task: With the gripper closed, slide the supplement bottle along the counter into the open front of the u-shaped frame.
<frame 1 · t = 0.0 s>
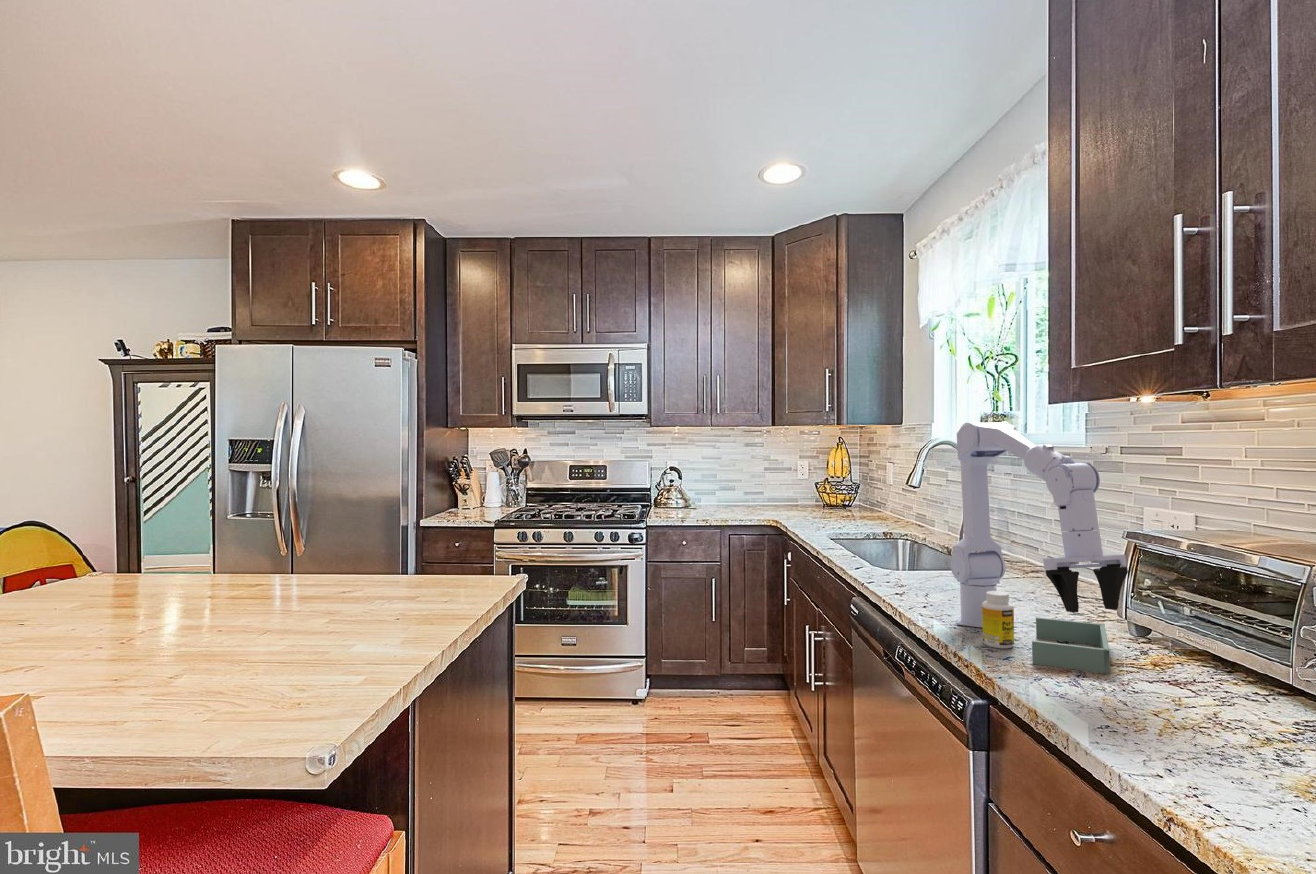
hand: (1092, 610, 117), 11 cm above the countertop, tool pointing down, fingers open, 7 cm apart
u-shaped frame: (1070, 654, 127), on the countertop
supplement bottle: (998, 646, 133), on the countertop
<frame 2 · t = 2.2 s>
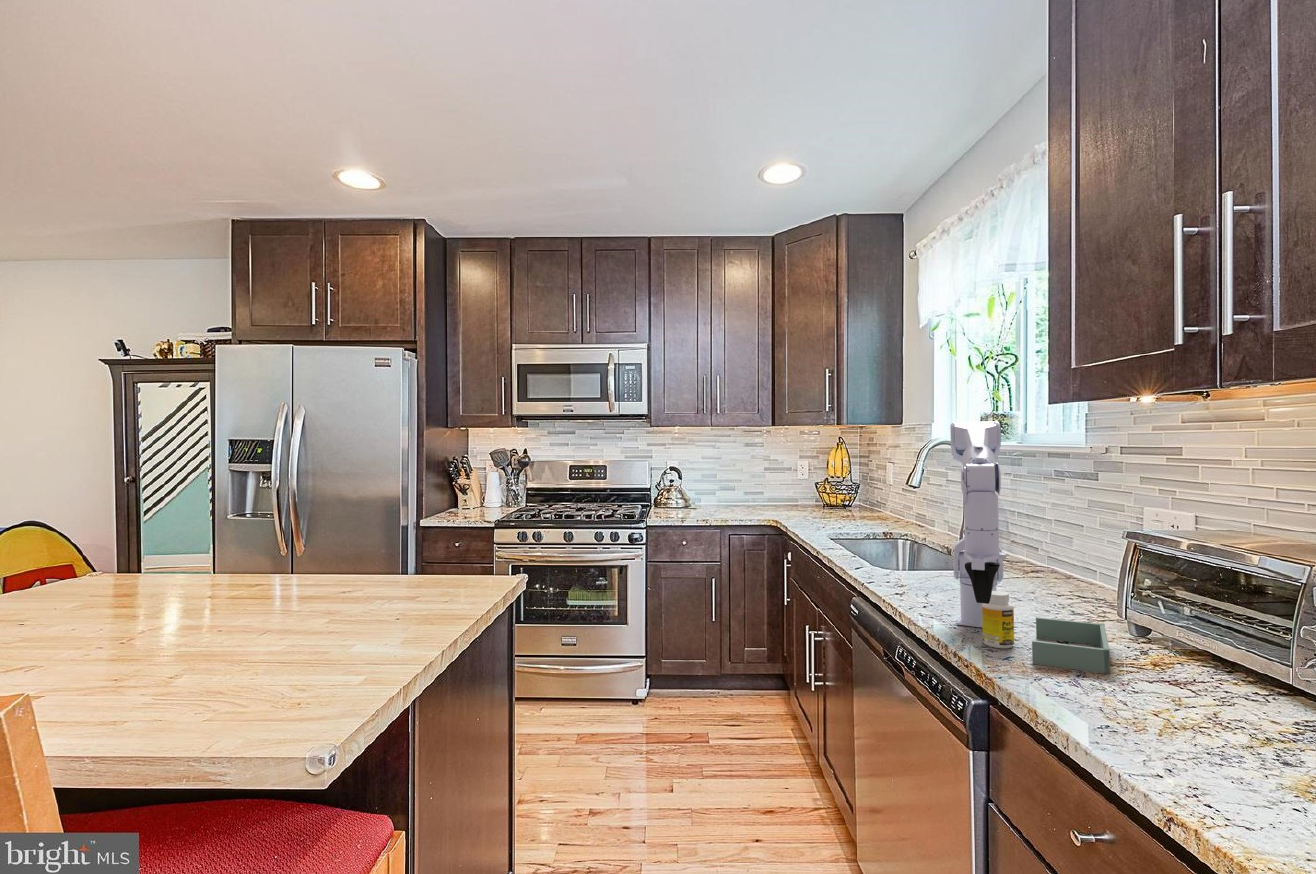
hand: (983, 602, 125), 10 cm above the countertop, tool pointing down, fingers closed
nothing on the countertop moved.
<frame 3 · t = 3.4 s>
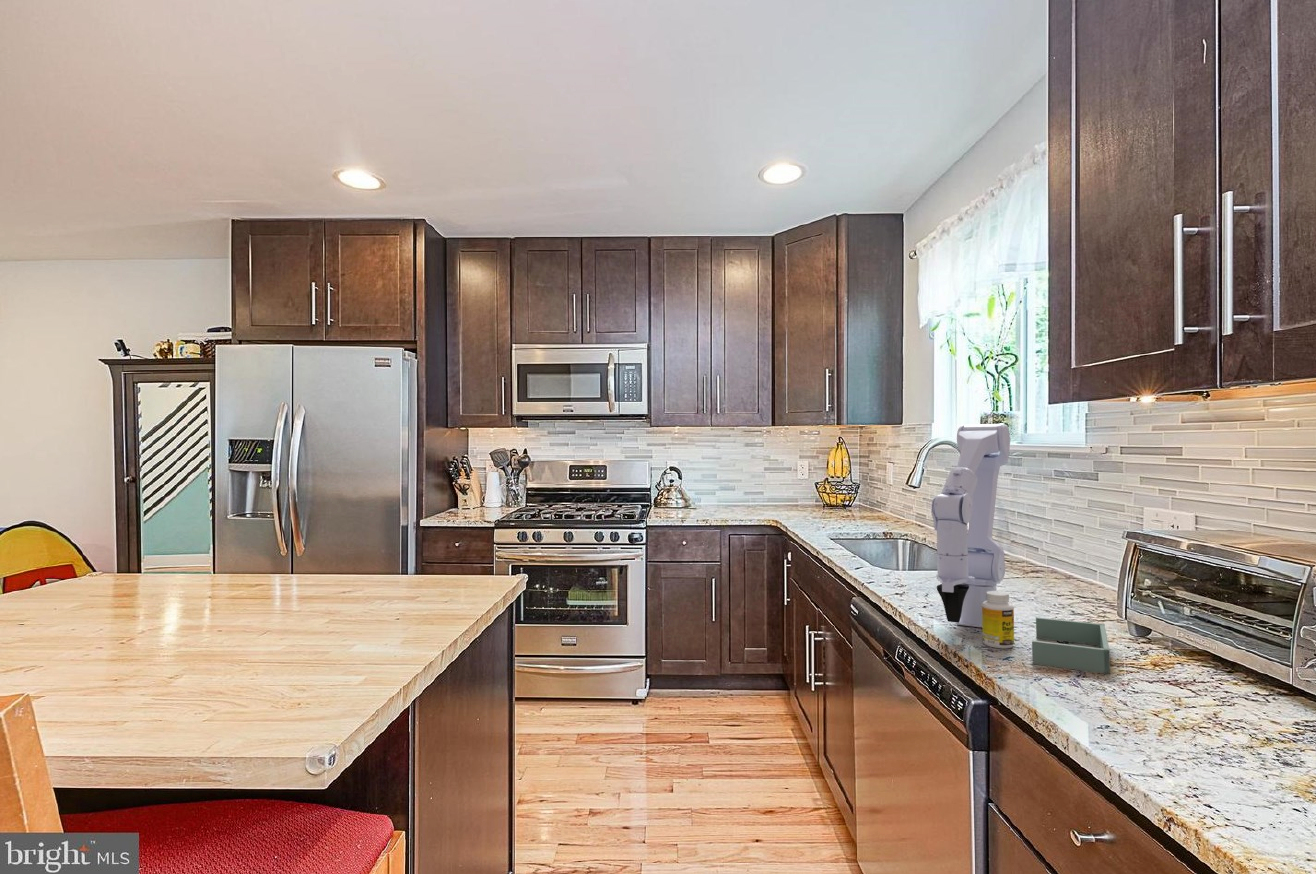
hand: (953, 621, 137), 4 cm above the countertop, tool pointing down, fingers closed
nothing on the countertop moved.
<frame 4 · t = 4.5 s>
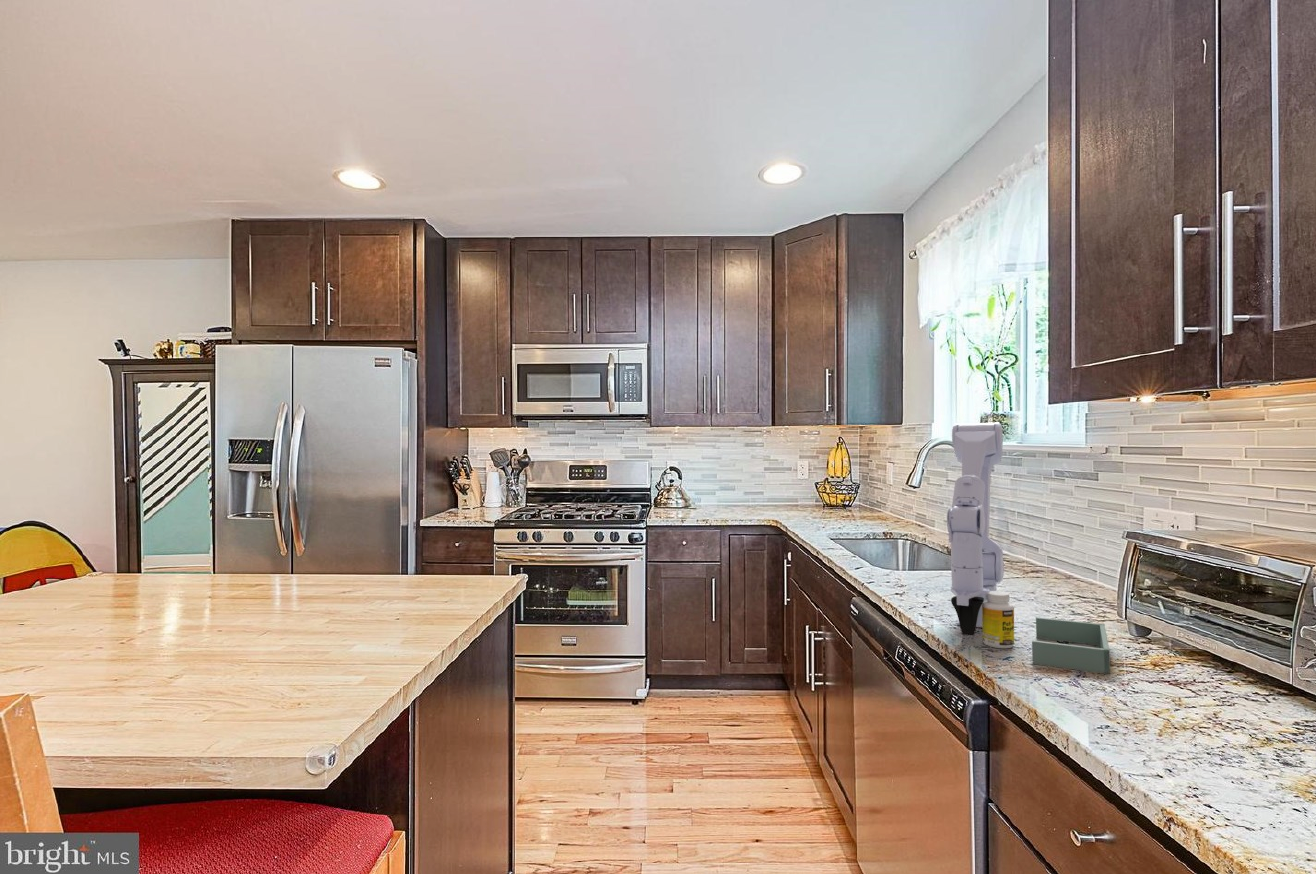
hand: (968, 634, 136), 1 cm above the countertop, tool pointing down, fingers closed, pressing on supplement bottle
supplement bottle: (998, 646, 133), on the countertop, touching gripper
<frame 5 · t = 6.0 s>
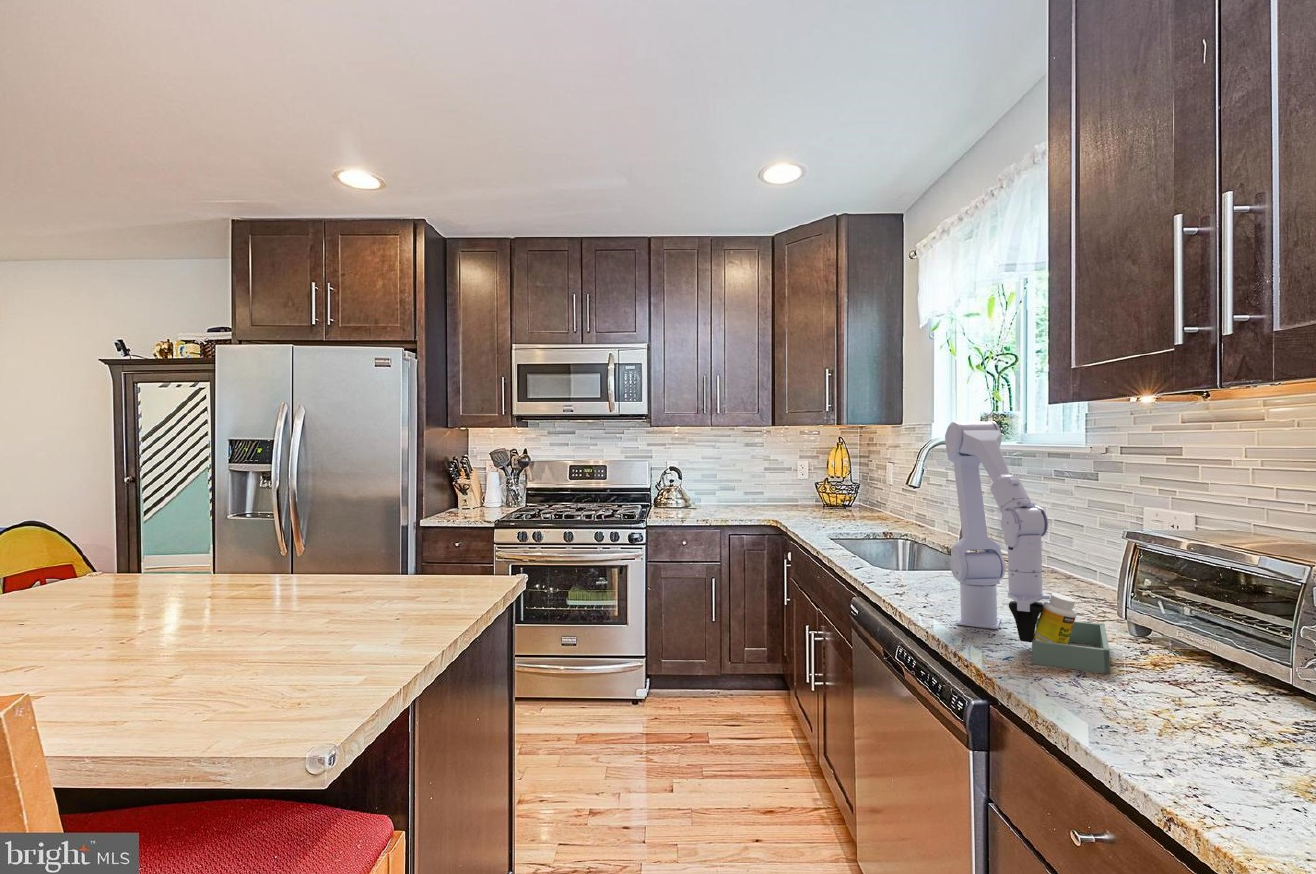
hand: (1026, 641, 131), 1 cm above the countertop, tool pointing down, fingers closed, pressing on supplement bottle
supplement bottle: (1048, 648, 129), on the countertop, touching gripper
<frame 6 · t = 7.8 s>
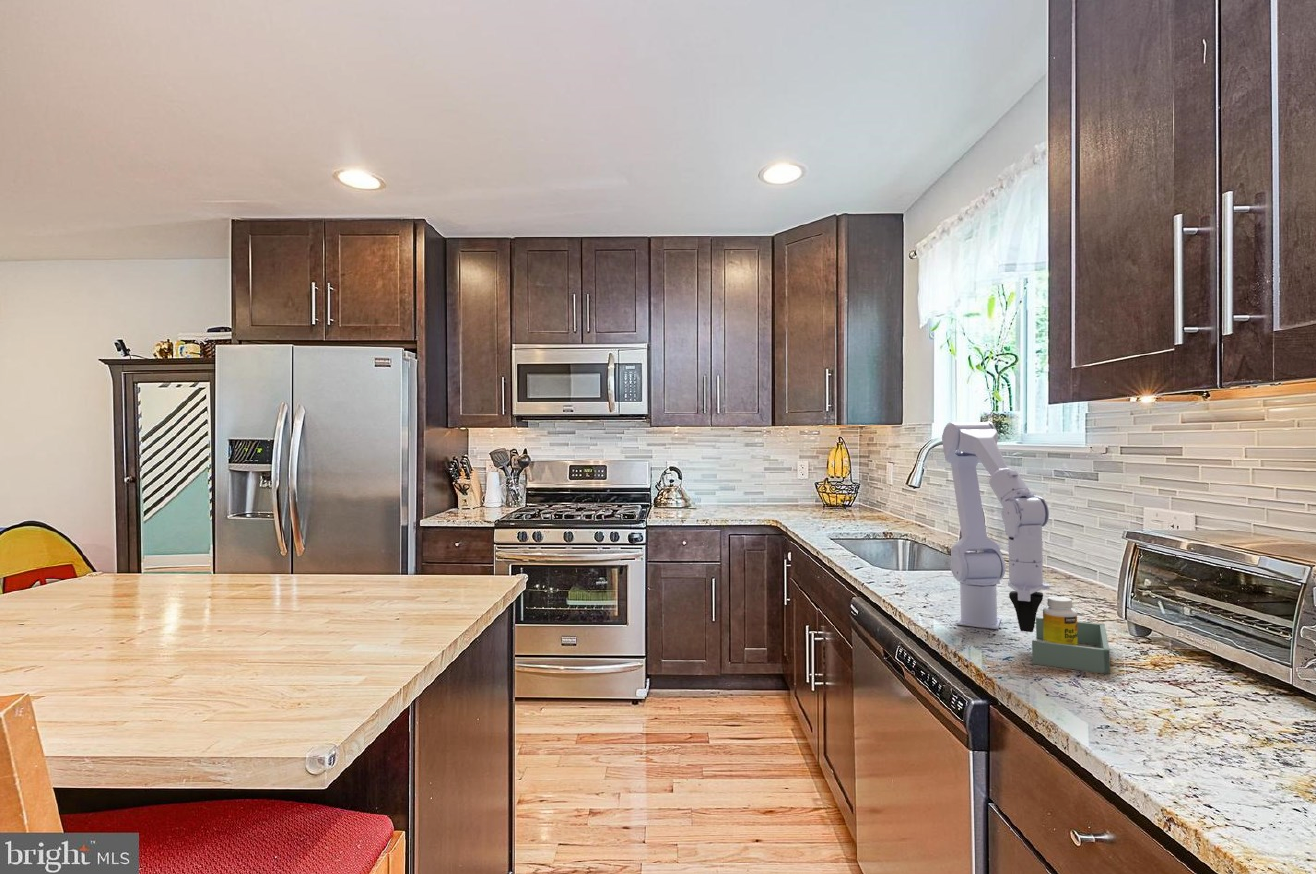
hand: (1026, 630, 131), 3 cm above the countertop, tool pointing down, fingers closed
supplement bottle: (1060, 654, 128), on the countertop
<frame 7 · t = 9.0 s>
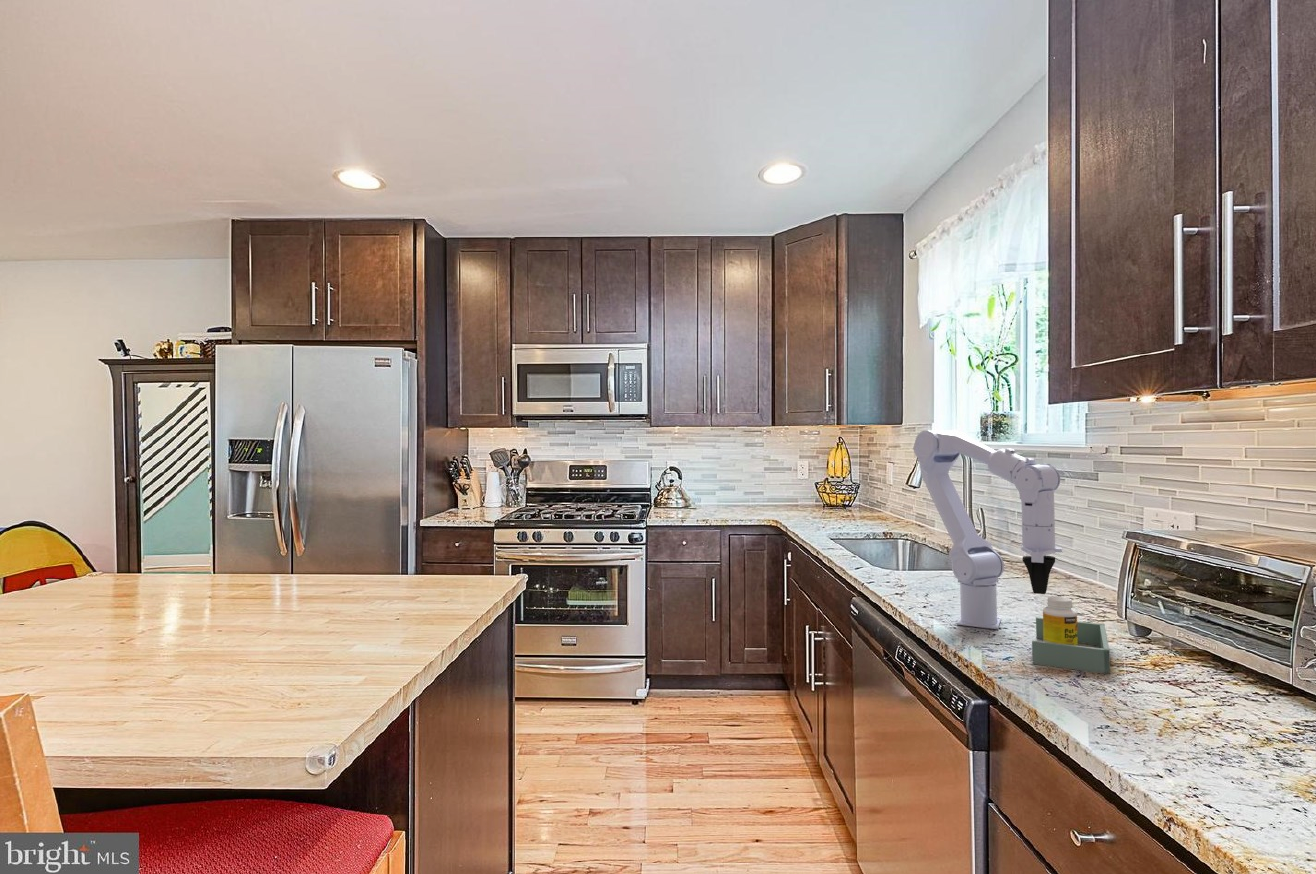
hand: (1039, 593, 136), 9 cm above the countertop, tool pointing down, fingers closed
nothing on the countertop moved.
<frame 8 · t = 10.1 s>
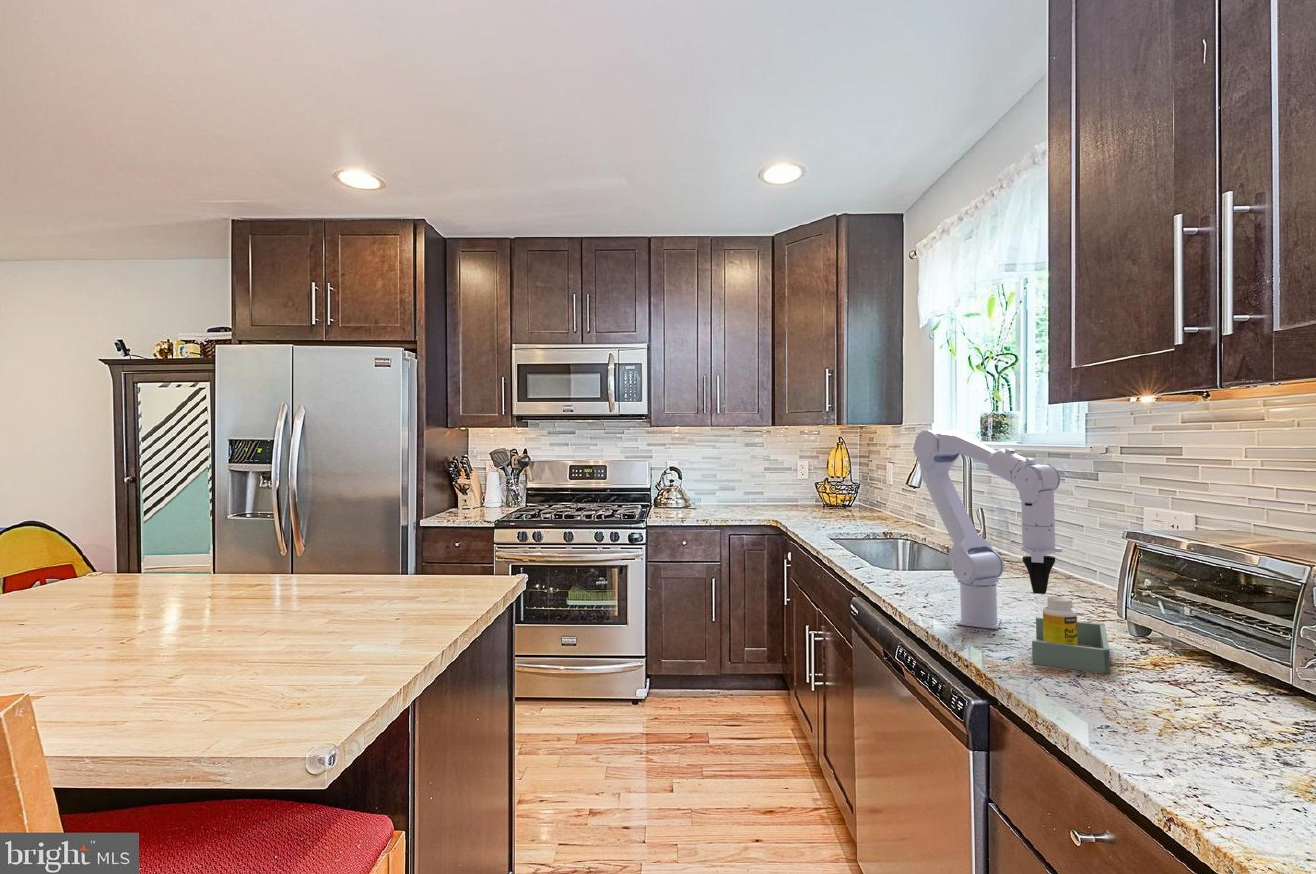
hand: (1039, 593, 136), 9 cm above the countertop, tool pointing down, fingers closed
nothing on the countertop moved.
at the end: supplement bottle inside the target area on the u-shaped frame (2.5 cm from its centre), point 0.0 cm above the u-shaped frame's base; supplement bottle tilted 0°; the gripper is holding nothing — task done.
